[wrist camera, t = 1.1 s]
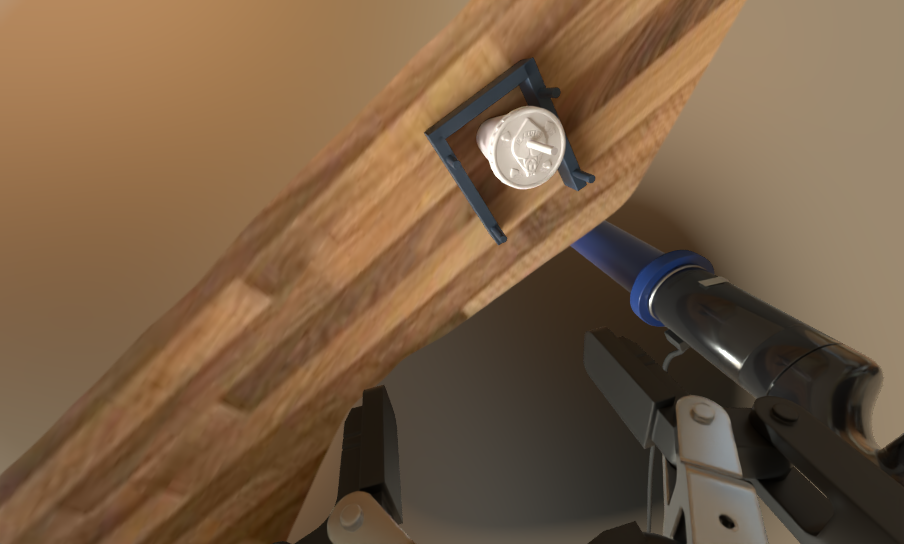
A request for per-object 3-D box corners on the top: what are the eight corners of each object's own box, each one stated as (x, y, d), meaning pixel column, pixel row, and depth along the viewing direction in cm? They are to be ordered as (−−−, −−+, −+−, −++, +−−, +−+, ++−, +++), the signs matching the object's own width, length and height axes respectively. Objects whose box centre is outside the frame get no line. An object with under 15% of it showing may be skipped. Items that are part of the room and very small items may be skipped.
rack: (573, 178, 39) (603, 191, 34) (490, 235, 41) (507, 256, 36) (520, 59, 33) (548, 53, 27) (423, 132, 34) (432, 139, 29)
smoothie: (519, 96, 34) (598, 98, 22) (524, 160, 37) (596, 193, 25) (458, 111, 34) (505, 120, 22) (469, 174, 37) (515, 214, 25)
